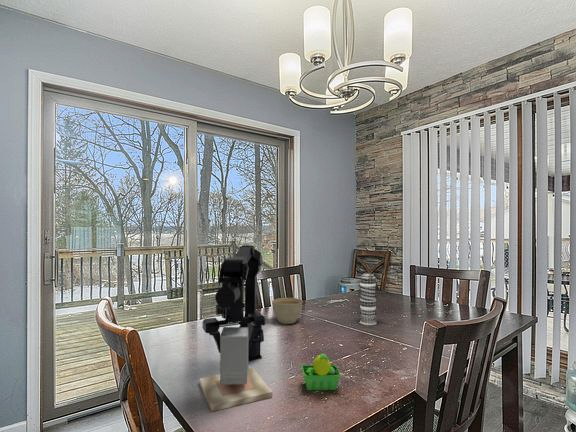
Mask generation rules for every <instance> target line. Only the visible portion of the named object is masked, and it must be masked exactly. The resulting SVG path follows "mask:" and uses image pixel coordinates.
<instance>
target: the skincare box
mask: <svg viewBox="0 0 576 432" xmlns="http://www.w3.org/2000/svg"><path fill="white" fill-rule="evenodd" d="M248 346H249V327H239V326H238V327H237V326H236V327H235V326H234V327H233V326H225V327H222V330H221V332H220V353H219V363H220V364H219V365H220V366H219V367H220V369H219V375H220V384H221V385H222V384H247V377H248V369H249V360H248Z"/></svg>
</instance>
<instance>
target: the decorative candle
mask: <svg viewBox="0 0 576 432" xmlns="http://www.w3.org/2000/svg"><path fill="white" fill-rule="evenodd" d="M359 278H360V282H359V284H358V287H359V288H358V290H359V291H358V292H359V294H360V295H359V296H358V297H359V301H360V305H359V307H360V308H359V314H360V315H359V324H362V325H365V326H374V325H377V324H378V323H377V319H378V318H377V306H376V301H377V297H378V296H377V295H378V293H377V291H378V289H377V287H378V286H377V283H376V276H375V275H374V274H372V273H362V274H361V276H359Z"/></svg>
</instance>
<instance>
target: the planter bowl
mask: <svg viewBox="0 0 576 432" xmlns="http://www.w3.org/2000/svg"><path fill="white" fill-rule="evenodd" d="M271 303H272V305H271V306H272V310H273V313H274V316H275V317H276V319H277V321H278V323H280V324H284V325H288V324H290V325H291V324H295V323H296V322H297V320H298V318H299V317H300V314H301V313H302V309H303V300H302V299H301V298H295V297H281V298H276V299H272V301H271Z"/></svg>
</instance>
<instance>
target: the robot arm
mask: <svg viewBox="0 0 576 432" xmlns="http://www.w3.org/2000/svg"><path fill="white" fill-rule="evenodd" d="M262 265H263V256H262V253H261V252H260V251H259V250H257V249H256V248H255V246H254V245H252V244H247V245H245V244H244V245H243V244H242V245H240V246H239V249H238V251H237V252H236V253H235V254H234V256H230V257H227V258H225V259H224V260H223V261H222V263H221V265H220V270H219V276H218V280H217V284H221V287H220V288H219V289H218V290H217V292H216V293H215V297H214V299H215V302H216V305H215V315H216V316H221V318H222V320H218V319H217V317H211V318H204V319H203V320H202V324H201V325H202V330H203V331H204V333H206V334H209V336H212V337H213V339H214V342H215V344H216V345H215V346H216V348H217V352H218V353H219V354H220V336H221V332H220V331H219V330H220V328H223V327H233V326H238V325H239V326H238V327H249V346H248V361H252V360H253V361H254V360H258V359H262V358H263V356H262V355H261V343H262V342H264V341H265V334H264V330H263V327H262V326H265V325H266V317H265V315H263V314H262V313H261V312H258V311H257V294H258V293H257V292H258V291H257V289H258V288H257V285H258V282H257V280H258V275H259V273H260V271H261V270H262Z"/></svg>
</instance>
